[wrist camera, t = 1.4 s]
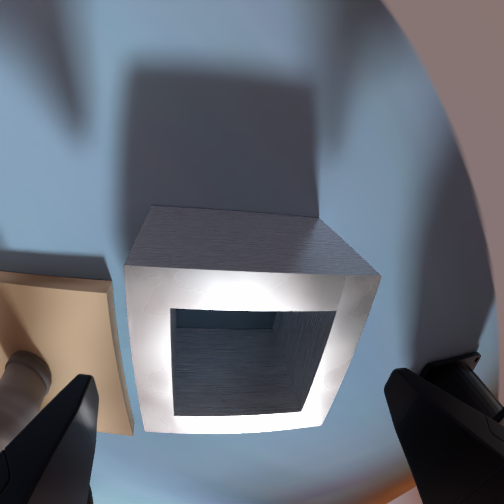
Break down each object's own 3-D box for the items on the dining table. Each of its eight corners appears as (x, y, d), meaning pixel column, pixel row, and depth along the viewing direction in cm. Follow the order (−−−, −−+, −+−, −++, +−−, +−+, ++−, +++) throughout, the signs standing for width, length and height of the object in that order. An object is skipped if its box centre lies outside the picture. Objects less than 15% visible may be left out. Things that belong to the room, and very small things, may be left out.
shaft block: (111, 280, 12) (70, 387, 7) (134, 422, 16) (128, 508, 11) (-52, 264, 10) (-116, 329, 5) (0, 397, 14) (-27, 465, 9)
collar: (319, 218, 13) (381, 276, 8) (289, 346, 15) (321, 425, 11) (151, 205, 11) (124, 265, 7) (153, 344, 14) (144, 431, 9)
